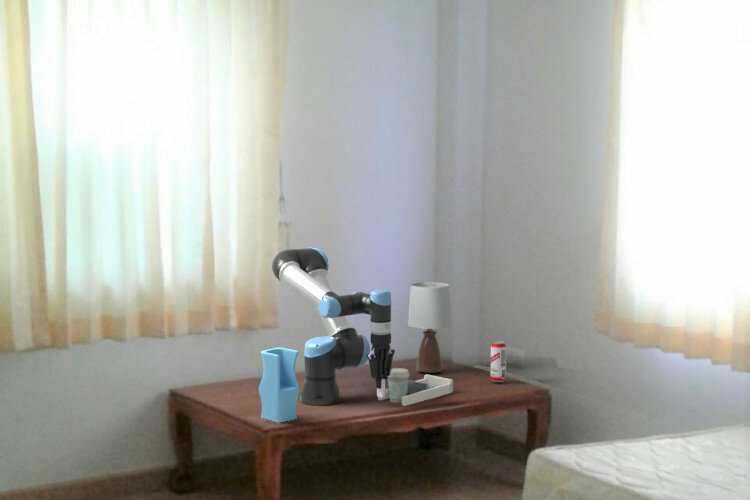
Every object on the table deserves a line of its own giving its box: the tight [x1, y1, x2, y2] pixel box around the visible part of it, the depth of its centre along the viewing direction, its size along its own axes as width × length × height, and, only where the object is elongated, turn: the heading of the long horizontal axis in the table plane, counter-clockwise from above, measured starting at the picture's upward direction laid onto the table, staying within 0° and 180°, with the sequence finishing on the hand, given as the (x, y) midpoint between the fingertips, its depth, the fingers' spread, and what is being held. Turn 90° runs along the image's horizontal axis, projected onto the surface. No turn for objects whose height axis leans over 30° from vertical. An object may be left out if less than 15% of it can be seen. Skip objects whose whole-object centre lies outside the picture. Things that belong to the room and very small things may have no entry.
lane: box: [377, 373, 454, 407], centre depth 347 cm, size 29×13×5 cm, turn 137°
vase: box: [258, 347, 300, 422], centre depth 312 cm, size 10×10×25 cm
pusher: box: [407, 379, 434, 395], centre depth 351 cm, size 10×9×5 cm
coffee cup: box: [387, 367, 410, 404], centre depth 339 cm, size 8×8×12 cm
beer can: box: [489, 340, 507, 383], centre depth 371 cm, size 6×6×16 cm
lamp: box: [407, 281, 452, 374], centre depth 389 cm, size 19×19×37 cm
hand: (381, 396), depth 332 cm, fingers closed
